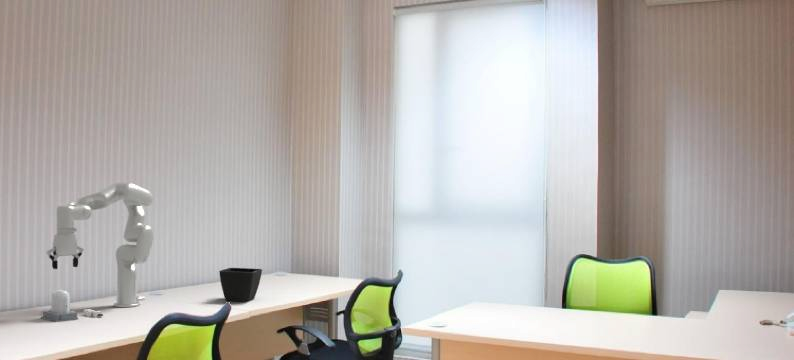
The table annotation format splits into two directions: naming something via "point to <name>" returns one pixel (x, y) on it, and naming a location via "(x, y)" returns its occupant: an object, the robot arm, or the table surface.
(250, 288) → the flower pot
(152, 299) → the table surface
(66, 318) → the end holder
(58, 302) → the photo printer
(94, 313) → the white cube chain
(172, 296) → the table surface
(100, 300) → the table surface
